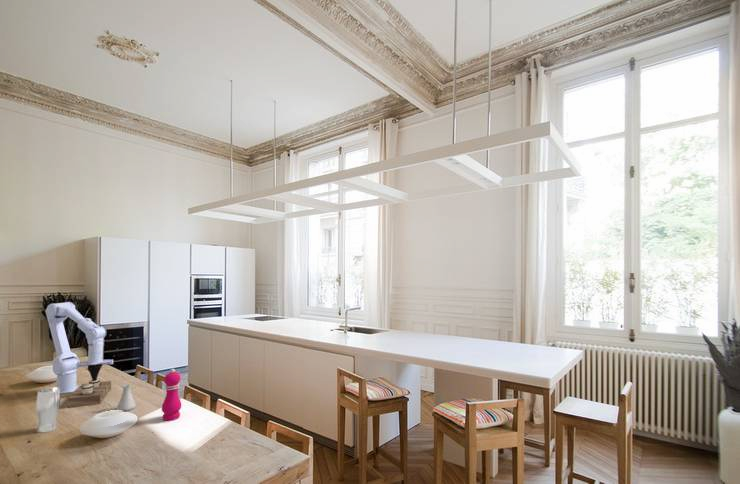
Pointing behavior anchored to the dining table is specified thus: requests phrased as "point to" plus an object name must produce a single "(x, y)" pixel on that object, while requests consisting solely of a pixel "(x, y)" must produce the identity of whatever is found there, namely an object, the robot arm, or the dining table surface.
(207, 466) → the dining table surface
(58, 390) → the beer glass
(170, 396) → the pepper mill
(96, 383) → the birch peg inner
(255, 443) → the dining table surface
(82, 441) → the dining table surface
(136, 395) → the dining table surface
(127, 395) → the flask
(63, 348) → the robot arm
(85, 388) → the birch peg outer
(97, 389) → the walnut block
